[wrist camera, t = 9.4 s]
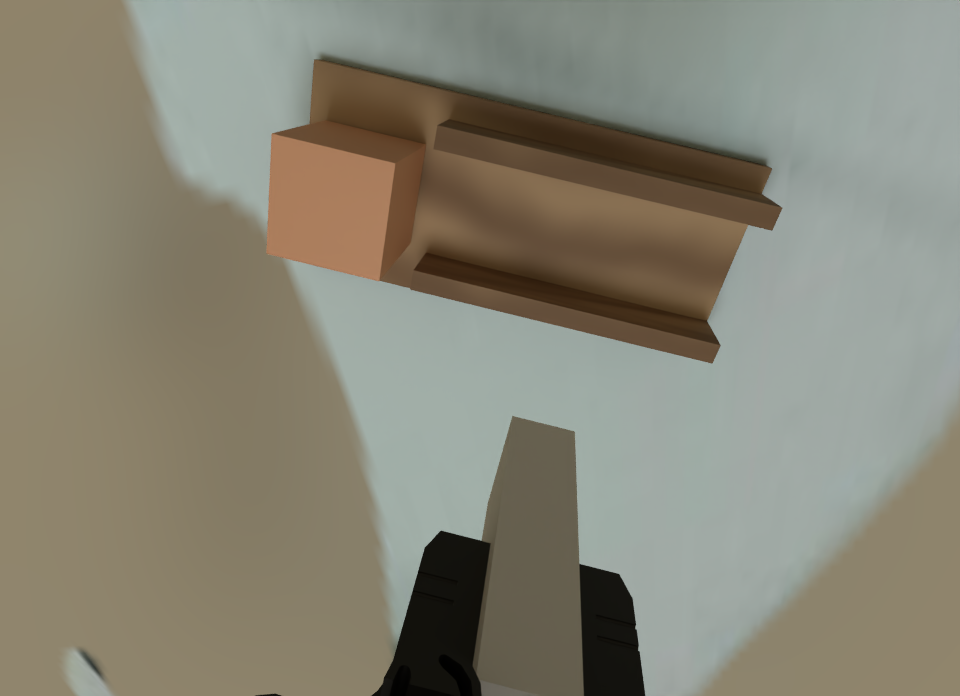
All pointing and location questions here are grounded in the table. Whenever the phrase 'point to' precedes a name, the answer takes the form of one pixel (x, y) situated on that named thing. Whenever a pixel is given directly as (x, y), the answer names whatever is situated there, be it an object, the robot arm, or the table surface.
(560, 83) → the table surface
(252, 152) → the table surface
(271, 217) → the block
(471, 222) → the chute
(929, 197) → the table surface
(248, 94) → the table surface
